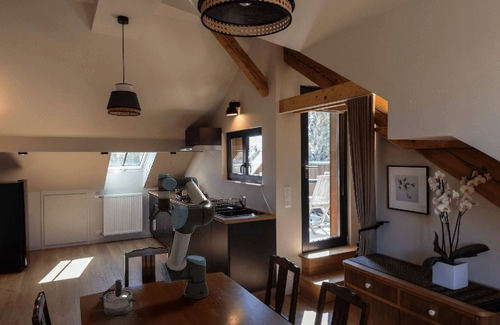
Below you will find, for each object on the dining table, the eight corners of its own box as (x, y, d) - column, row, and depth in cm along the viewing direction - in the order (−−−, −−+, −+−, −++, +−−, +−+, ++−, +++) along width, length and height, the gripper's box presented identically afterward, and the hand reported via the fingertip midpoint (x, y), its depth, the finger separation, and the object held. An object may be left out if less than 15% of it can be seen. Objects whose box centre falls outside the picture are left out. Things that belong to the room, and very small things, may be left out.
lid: (132, 293, 194) (132, 277, 194) (122, 301, 184) (122, 284, 184) (114, 292, 196) (114, 276, 196) (103, 300, 185) (103, 283, 185)
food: (119, 304, 197) (119, 289, 197) (101, 306, 195) (101, 290, 195) (123, 290, 218) (123, 276, 218) (107, 292, 216) (107, 277, 216)
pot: (142, 305, 196) (142, 291, 195) (129, 316, 181) (129, 301, 181) (108, 303, 199) (108, 288, 199) (92, 314, 184) (92, 298, 184)
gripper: (184, 197, 226) (184, 229, 226) (148, 196, 230) (148, 228, 230) (180, 198, 219) (180, 232, 219) (143, 197, 223) (143, 230, 223)
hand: (164, 230), depth 225 cm, fingers open, 13 cm apart
